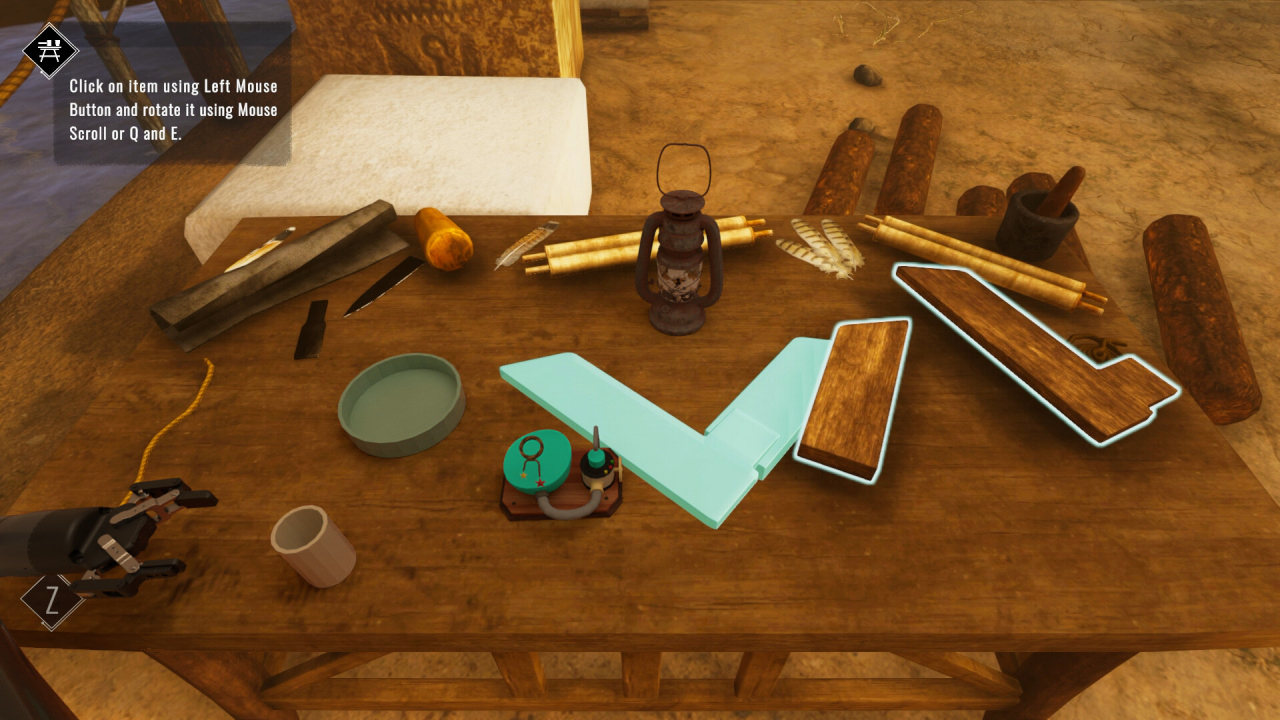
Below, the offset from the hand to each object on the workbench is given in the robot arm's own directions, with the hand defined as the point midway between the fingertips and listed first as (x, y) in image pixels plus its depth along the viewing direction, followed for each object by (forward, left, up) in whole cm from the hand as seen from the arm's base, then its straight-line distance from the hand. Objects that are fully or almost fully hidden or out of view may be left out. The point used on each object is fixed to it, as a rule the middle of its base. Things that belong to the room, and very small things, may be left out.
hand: (199, 530), depth 69 cm
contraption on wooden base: (+8, -42, -11) cm, 44 cm away
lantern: (+45, -64, -11) cm, 79 cm away
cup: (0, -11, -11) cm, 16 cm away
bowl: (+26, -16, -11) cm, 33 cm away
